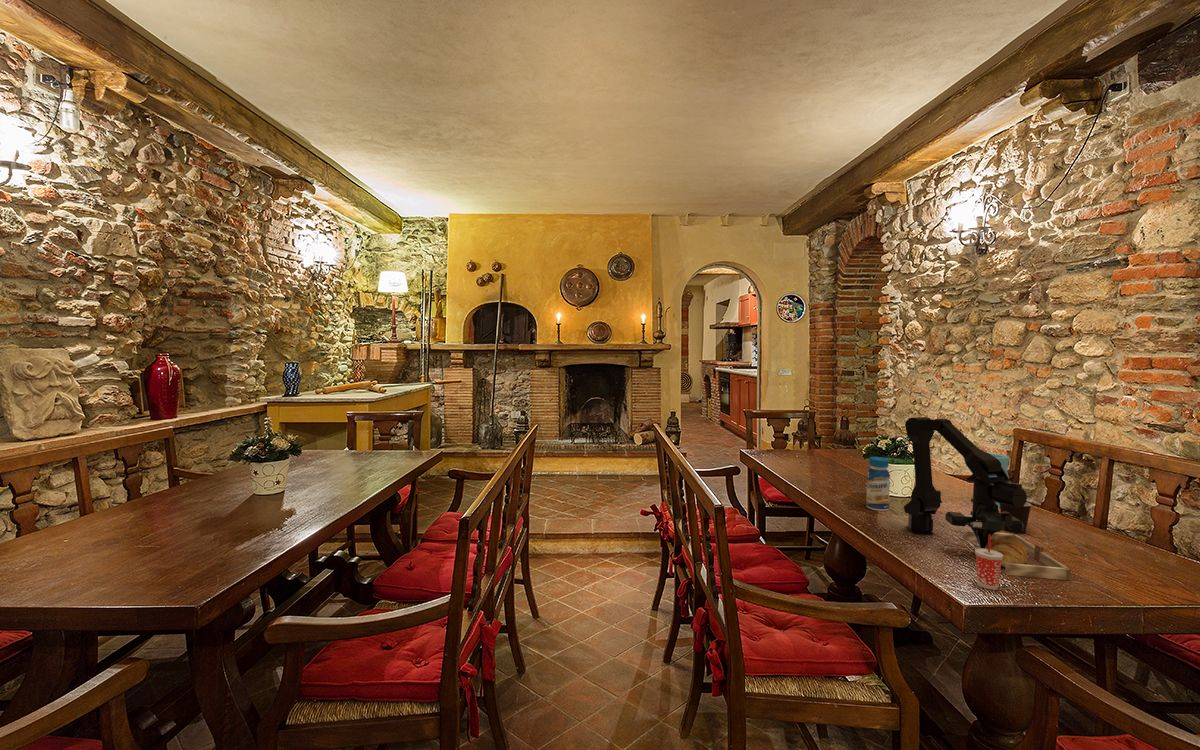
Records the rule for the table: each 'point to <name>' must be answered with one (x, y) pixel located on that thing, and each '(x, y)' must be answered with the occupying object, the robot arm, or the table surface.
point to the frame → (1051, 567)
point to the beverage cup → (988, 567)
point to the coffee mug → (1017, 515)
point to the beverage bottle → (878, 484)
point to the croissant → (1009, 549)
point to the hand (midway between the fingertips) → (982, 548)
